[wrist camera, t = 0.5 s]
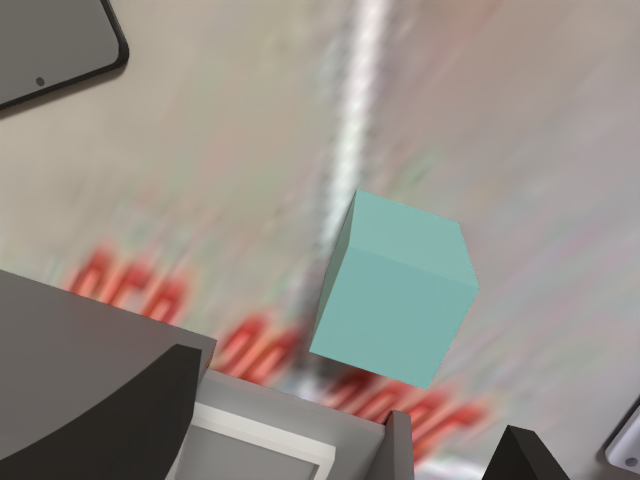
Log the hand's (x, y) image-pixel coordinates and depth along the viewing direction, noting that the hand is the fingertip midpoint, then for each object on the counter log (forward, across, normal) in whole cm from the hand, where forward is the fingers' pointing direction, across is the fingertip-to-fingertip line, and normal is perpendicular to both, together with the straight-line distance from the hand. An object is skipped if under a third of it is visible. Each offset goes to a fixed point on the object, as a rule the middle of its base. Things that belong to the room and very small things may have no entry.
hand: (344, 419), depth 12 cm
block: (+9, -1, 0) cm, 9 cm away
